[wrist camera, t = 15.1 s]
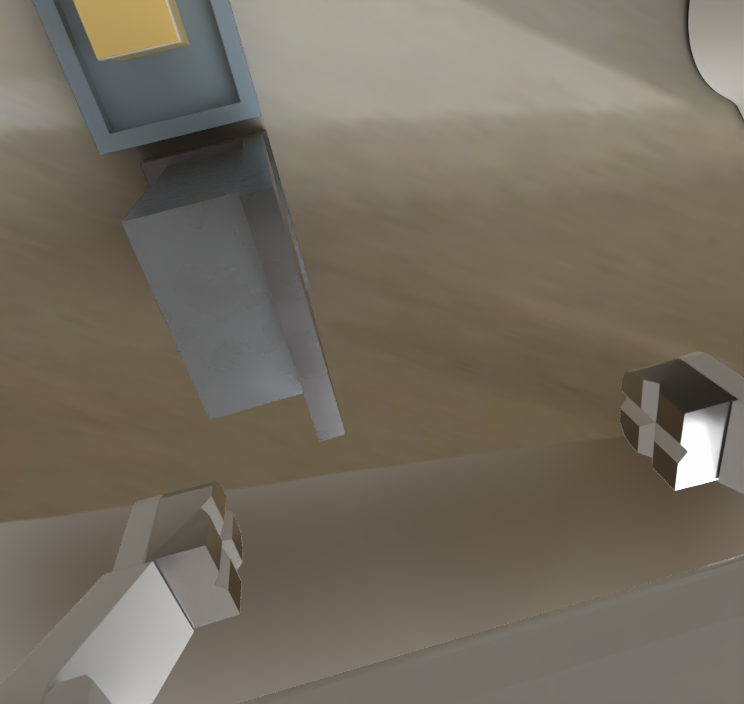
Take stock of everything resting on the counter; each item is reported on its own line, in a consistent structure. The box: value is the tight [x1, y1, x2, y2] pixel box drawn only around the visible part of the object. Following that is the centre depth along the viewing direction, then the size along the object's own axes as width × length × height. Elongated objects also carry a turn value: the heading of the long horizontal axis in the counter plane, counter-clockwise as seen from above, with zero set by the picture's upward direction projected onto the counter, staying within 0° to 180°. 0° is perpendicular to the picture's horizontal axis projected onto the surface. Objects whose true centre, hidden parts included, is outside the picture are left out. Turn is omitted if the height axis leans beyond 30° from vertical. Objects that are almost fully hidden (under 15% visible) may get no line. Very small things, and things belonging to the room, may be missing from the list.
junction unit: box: [121, 130, 345, 442], centre depth 29 cm, size 8×11×19 cm
